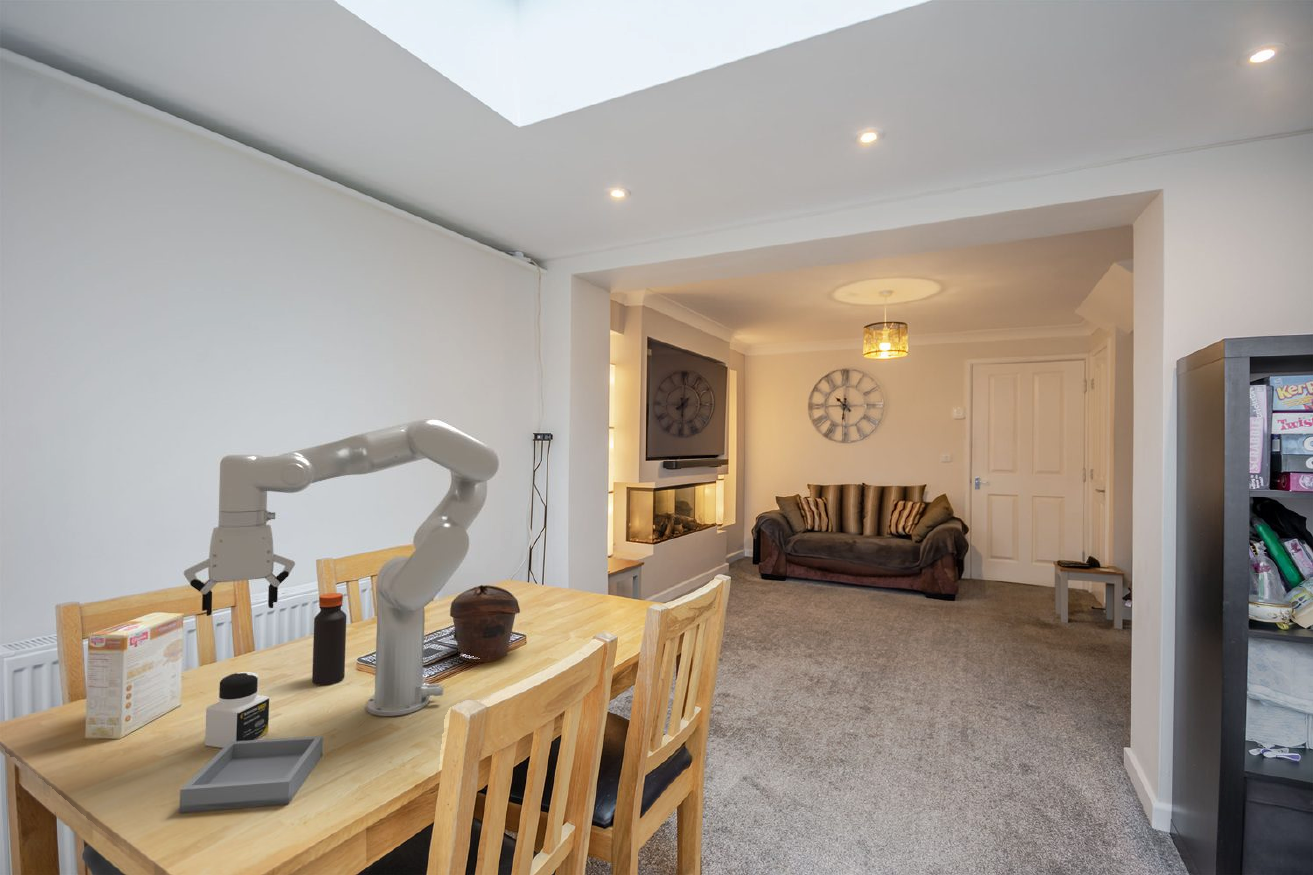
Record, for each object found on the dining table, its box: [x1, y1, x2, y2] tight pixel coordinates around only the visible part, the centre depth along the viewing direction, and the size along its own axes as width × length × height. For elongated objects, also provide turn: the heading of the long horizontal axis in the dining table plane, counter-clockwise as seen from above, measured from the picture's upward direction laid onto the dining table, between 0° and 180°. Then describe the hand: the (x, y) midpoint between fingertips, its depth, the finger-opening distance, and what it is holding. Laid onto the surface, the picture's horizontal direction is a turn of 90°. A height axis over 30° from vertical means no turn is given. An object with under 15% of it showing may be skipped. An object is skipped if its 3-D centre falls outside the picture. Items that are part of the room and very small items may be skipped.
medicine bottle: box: [204, 671, 270, 749], centre depth 114 cm, size 7×7×12 cm
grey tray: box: [178, 735, 324, 814], centre depth 100 cm, size 15×15×4 cm
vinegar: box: [311, 592, 347, 686], centre depth 142 cm, size 7×7×20 cm
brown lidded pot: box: [449, 584, 521, 663], centre depth 163 cm, size 18×20×18 cm
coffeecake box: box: [84, 612, 185, 740], centre depth 120 cm, size 15×7×20 cm, turn 1°
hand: (240, 610), depth 114 cm, fingers open, 9 cm apart
